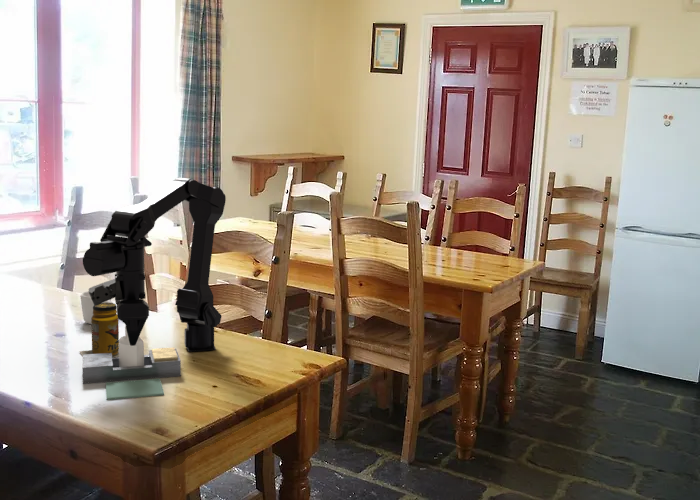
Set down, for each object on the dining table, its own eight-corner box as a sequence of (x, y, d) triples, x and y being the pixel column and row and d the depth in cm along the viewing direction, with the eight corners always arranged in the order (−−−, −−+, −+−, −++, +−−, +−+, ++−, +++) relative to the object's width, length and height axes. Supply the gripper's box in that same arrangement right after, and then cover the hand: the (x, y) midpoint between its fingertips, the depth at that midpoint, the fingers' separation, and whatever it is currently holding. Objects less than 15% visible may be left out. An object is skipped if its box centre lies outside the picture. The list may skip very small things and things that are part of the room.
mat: (160, 380, 155) (159, 378, 155) (164, 395, 147) (164, 393, 147) (105, 384, 151) (105, 382, 151) (106, 399, 143) (106, 398, 143)
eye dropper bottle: (126, 378, 155) (125, 324, 153) (117, 371, 160) (116, 318, 158) (146, 375, 158) (145, 321, 156) (137, 367, 162) (136, 315, 160)
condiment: (124, 356, 170) (123, 306, 168) (86, 361, 166) (85, 310, 164) (115, 347, 176) (114, 299, 174) (79, 352, 171) (77, 303, 170)
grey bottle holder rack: (176, 363, 166) (176, 346, 166) (180, 376, 158) (180, 358, 157) (83, 369, 160) (82, 351, 159) (82, 383, 151) (82, 364, 151)
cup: (125, 323, 197) (124, 294, 196) (101, 329, 191) (100, 300, 189) (99, 316, 203) (98, 288, 202) (74, 322, 196) (73, 293, 195)
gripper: (90, 261, 161) (92, 329, 164) (90, 279, 144) (92, 355, 146) (142, 260, 165) (143, 326, 167) (148, 277, 147) (149, 351, 150)
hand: (131, 339), depth 158 cm, fingers open, 9 cm apart
